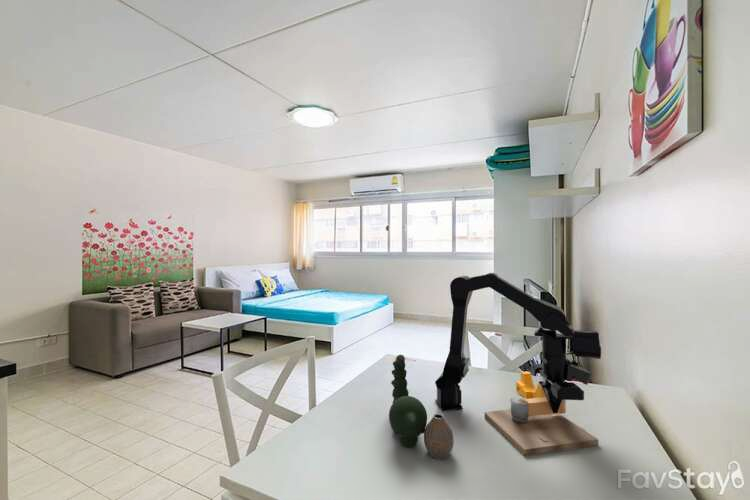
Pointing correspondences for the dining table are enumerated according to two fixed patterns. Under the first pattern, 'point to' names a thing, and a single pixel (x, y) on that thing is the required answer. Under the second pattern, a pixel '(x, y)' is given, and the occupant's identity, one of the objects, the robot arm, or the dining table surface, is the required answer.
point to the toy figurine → (405, 408)
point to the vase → (438, 437)
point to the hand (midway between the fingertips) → (555, 412)
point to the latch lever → (533, 407)
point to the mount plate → (540, 432)
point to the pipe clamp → (528, 387)
